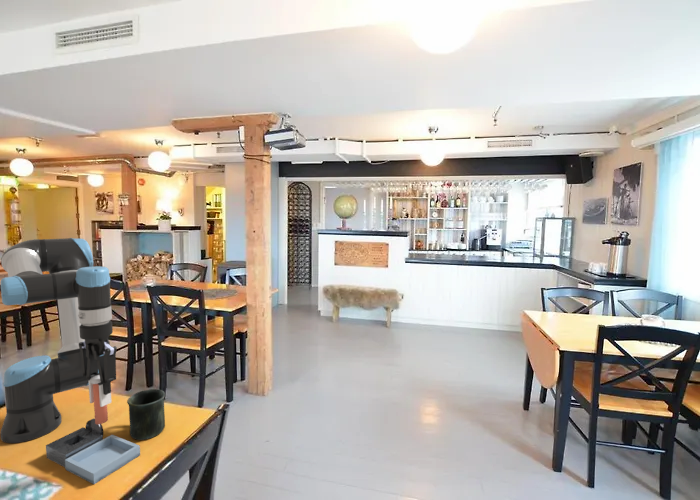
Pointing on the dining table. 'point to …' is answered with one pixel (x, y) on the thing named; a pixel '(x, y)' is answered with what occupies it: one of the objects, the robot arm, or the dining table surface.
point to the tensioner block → (74, 442)
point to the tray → (102, 458)
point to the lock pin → (98, 402)
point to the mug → (146, 414)
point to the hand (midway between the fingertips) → (100, 402)
